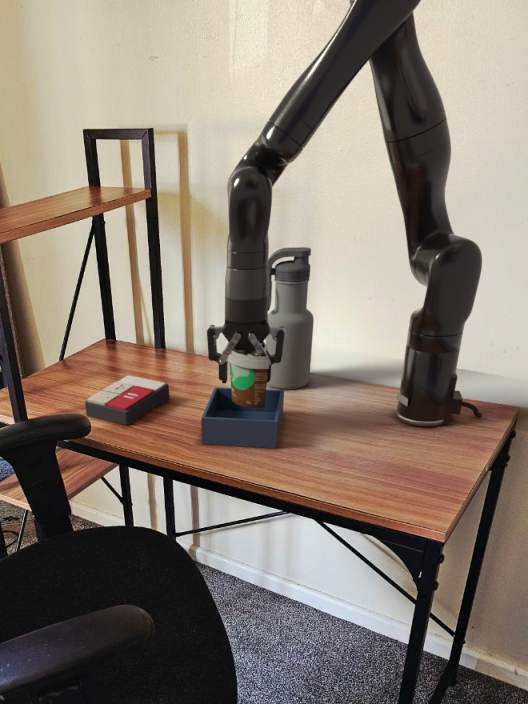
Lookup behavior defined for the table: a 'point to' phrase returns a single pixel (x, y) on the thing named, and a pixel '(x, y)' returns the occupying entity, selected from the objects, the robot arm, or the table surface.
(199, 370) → the table surface
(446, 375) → the robot arm
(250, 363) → the food container
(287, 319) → the water bottle
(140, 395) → the calculator
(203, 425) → the tote
